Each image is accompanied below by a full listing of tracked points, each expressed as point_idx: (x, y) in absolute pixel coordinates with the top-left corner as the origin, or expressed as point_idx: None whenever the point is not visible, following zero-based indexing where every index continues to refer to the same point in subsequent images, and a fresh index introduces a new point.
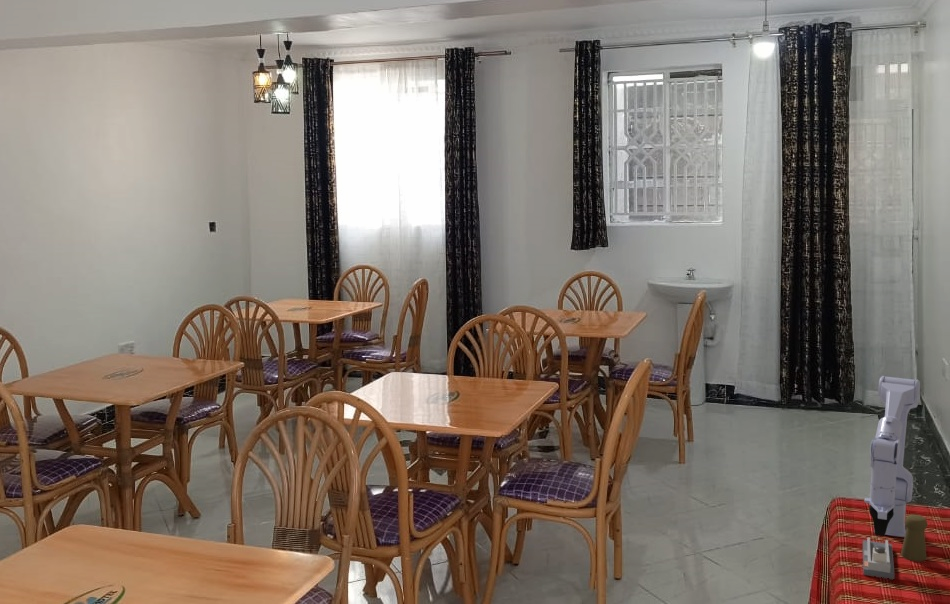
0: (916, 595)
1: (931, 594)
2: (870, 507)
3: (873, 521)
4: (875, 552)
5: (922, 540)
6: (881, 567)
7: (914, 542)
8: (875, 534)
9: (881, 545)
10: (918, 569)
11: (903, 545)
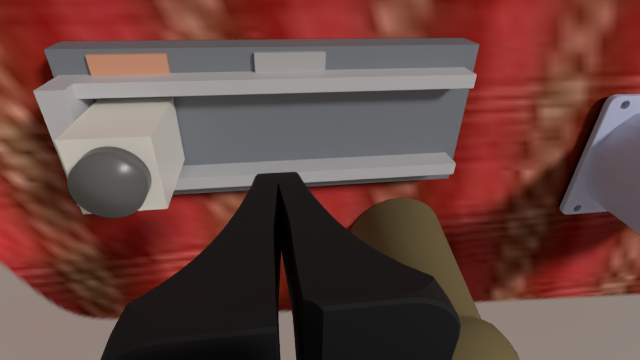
0: (6, 258)
1: (62, 296)
2: (325, 323)
3: (211, 243)
4: (69, 153)
5: None
6: None
7: None
8: (255, 176)
9: (424, 137)
10: None
11: (403, 234)
